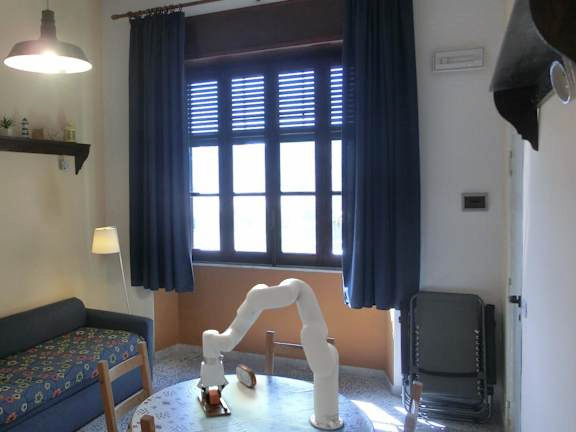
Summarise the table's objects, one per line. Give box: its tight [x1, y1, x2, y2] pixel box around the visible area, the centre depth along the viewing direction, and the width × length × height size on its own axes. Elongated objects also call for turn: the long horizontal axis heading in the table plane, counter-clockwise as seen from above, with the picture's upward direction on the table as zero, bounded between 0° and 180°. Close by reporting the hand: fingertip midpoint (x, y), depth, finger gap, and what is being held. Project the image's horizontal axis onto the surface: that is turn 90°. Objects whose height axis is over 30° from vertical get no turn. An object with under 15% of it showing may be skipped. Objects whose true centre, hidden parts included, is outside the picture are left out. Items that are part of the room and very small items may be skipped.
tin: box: [235, 363, 257, 389], centre depth 238 cm, size 15×3×8 cm, turn 25°
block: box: [209, 389, 220, 405], centre depth 217 cm, size 6×4×4 cm, turn 11°
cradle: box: [197, 386, 232, 418], centre depth 216 cm, size 20×10×5 cm, turn 11°
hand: (213, 400), depth 217 cm, fingers closed on block, 4 cm apart
